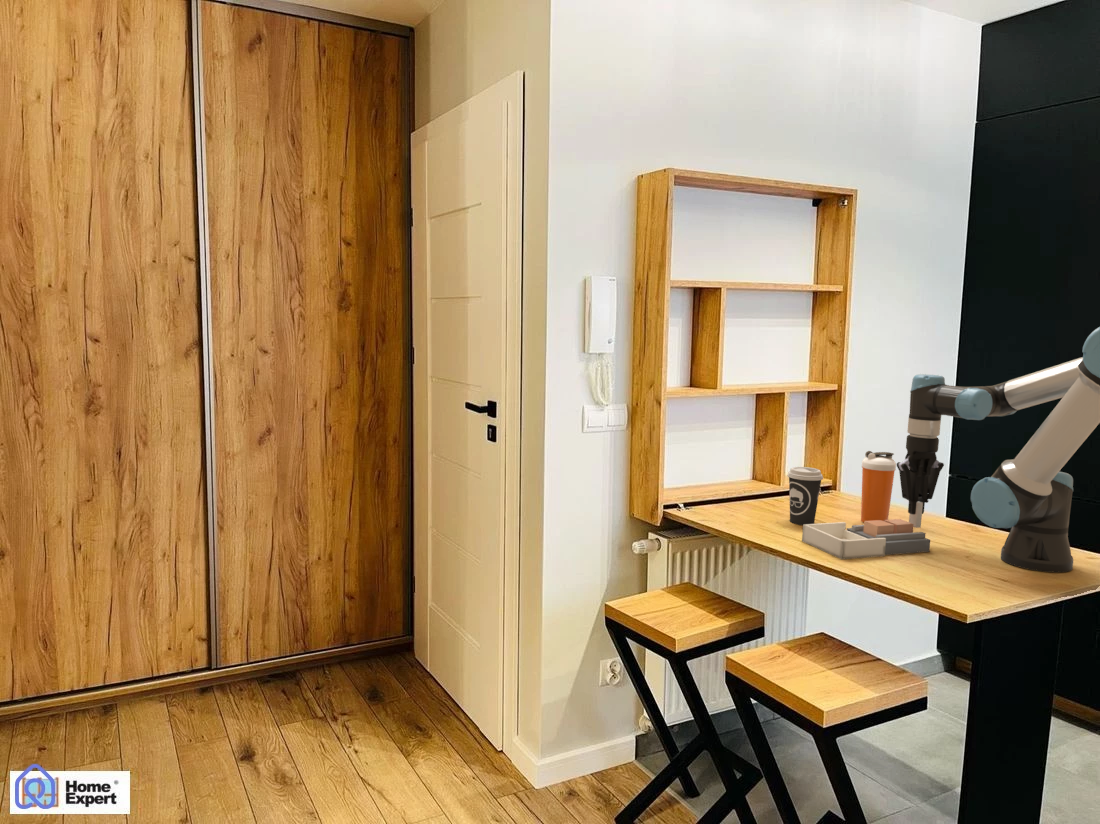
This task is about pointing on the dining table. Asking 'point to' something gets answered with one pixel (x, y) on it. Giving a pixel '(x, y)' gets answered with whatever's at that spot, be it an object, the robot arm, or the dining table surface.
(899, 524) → the tile
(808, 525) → the tray
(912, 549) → the grey railed fixture
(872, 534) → the tile
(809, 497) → the coffee cup
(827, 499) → the dining table surface
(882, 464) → the shaker bottle
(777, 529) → the dining table surface
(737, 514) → the dining table surface
